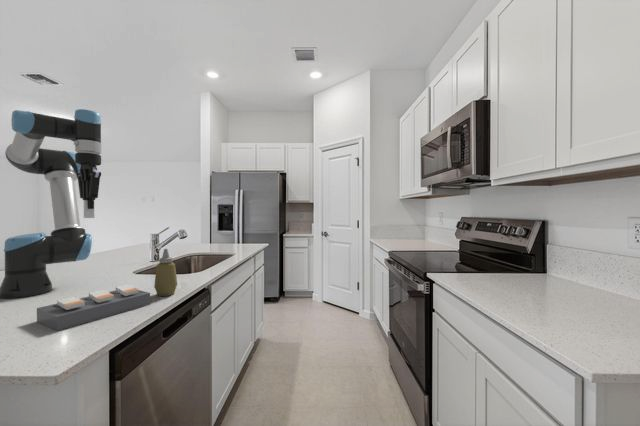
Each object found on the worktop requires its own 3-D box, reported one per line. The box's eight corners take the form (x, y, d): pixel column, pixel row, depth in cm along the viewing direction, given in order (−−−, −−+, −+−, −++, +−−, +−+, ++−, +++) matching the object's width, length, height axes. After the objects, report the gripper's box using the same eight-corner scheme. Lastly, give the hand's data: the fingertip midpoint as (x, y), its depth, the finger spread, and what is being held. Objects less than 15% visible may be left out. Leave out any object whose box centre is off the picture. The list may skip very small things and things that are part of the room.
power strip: (28, 317, 91) (27, 302, 91) (118, 295, 114) (118, 283, 114) (57, 331, 81) (57, 314, 81) (150, 304, 104) (150, 291, 104)
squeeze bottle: (167, 298, 111) (167, 250, 111) (149, 296, 113) (149, 250, 112) (181, 292, 119) (181, 247, 119) (164, 290, 121) (164, 247, 120)
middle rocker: (88, 296, 95) (88, 292, 94) (103, 292, 99) (104, 289, 98) (97, 302, 92) (98, 299, 92) (113, 299, 96) (113, 295, 96)
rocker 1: (57, 304, 88) (57, 299, 88) (75, 300, 92) (75, 296, 91) (66, 310, 85) (66, 305, 85) (84, 305, 89) (84, 301, 89)
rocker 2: (115, 290, 102) (115, 286, 102) (128, 287, 106) (129, 283, 105) (125, 296, 99) (125, 292, 99) (138, 292, 103) (138, 289, 103)
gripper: (67, 153, 107) (68, 217, 108) (85, 150, 101) (85, 218, 102) (91, 156, 114) (92, 217, 115) (109, 153, 108) (109, 218, 108)
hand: (89, 217), depth 108 cm, fingers closed
